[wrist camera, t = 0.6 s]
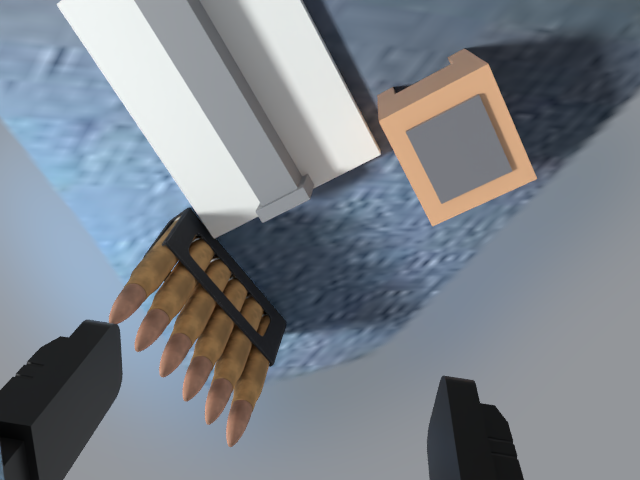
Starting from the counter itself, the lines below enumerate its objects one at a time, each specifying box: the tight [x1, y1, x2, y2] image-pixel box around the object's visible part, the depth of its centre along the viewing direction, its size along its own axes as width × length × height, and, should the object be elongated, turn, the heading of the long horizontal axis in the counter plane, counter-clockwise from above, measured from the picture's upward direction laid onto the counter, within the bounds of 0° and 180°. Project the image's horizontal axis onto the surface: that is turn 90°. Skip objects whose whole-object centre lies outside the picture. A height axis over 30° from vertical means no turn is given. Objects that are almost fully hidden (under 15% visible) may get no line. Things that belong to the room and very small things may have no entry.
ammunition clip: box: [109, 208, 286, 447], centre depth 33 cm, size 11×2×12 cm, turn 36°
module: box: [377, 48, 537, 226], centre depth 29 cm, size 5×6×7 cm
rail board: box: [57, 0, 381, 239], centre depth 31 cm, size 12×16×4 cm
